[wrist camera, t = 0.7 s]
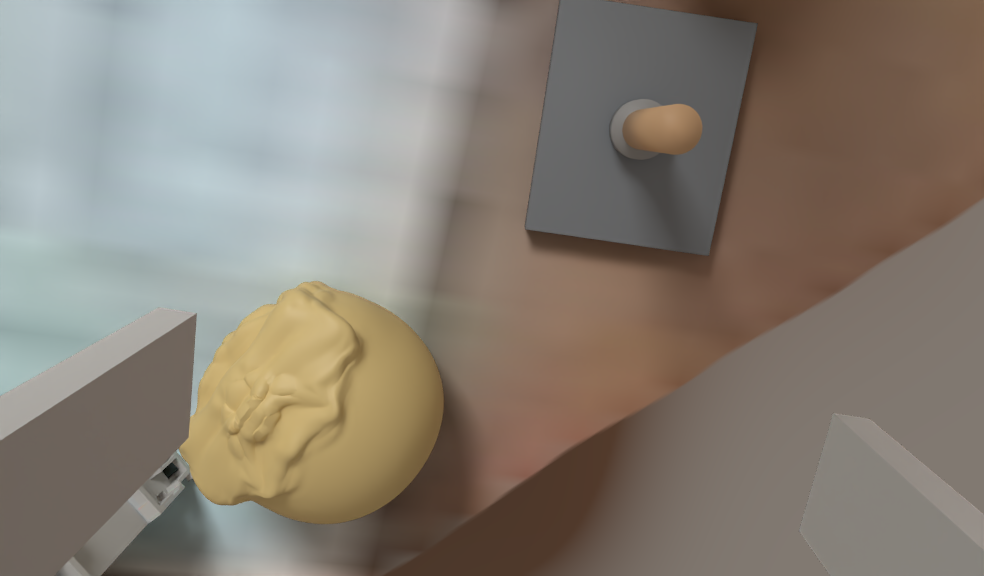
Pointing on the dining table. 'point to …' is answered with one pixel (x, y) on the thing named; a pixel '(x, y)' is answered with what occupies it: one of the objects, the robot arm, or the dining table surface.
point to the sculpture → (315, 408)
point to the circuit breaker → (128, 521)
